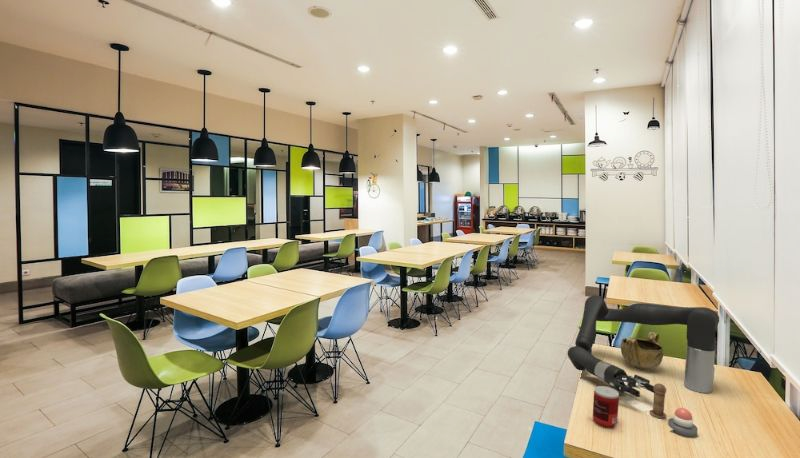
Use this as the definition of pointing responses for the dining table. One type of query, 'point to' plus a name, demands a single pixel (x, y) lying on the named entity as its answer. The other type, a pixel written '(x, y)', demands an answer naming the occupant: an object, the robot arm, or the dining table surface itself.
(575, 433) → the dining table surface
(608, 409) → the canned food
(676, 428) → the dome housing
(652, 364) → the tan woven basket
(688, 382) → the robot arm
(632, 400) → the track
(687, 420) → the dome plunger
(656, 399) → the pawn
